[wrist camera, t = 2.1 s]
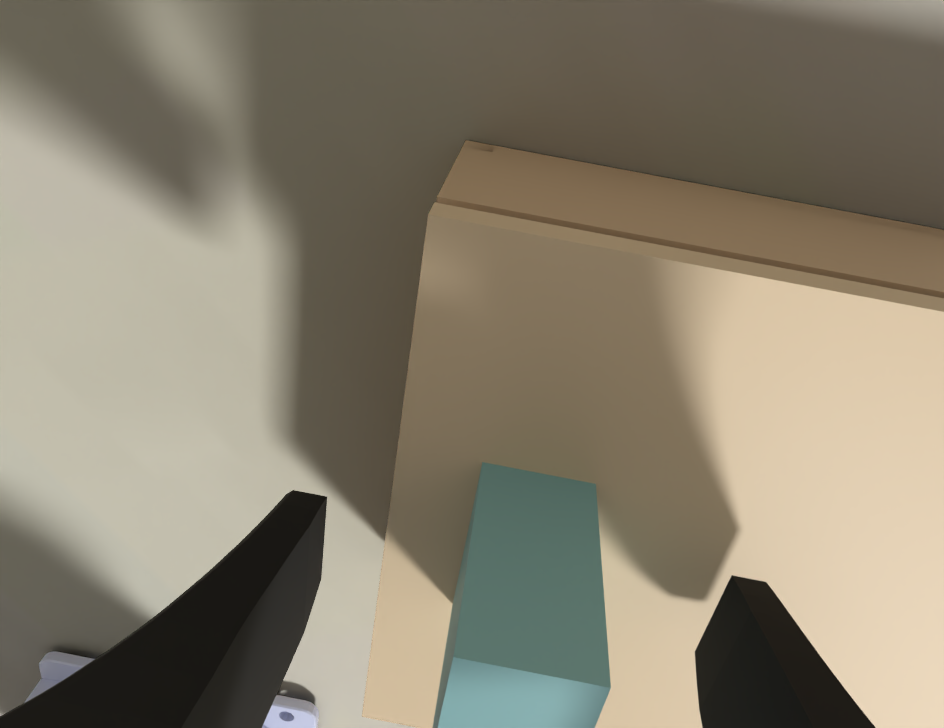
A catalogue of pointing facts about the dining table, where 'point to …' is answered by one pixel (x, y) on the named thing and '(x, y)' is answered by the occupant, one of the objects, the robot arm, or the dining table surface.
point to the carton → (697, 218)
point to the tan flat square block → (652, 480)
